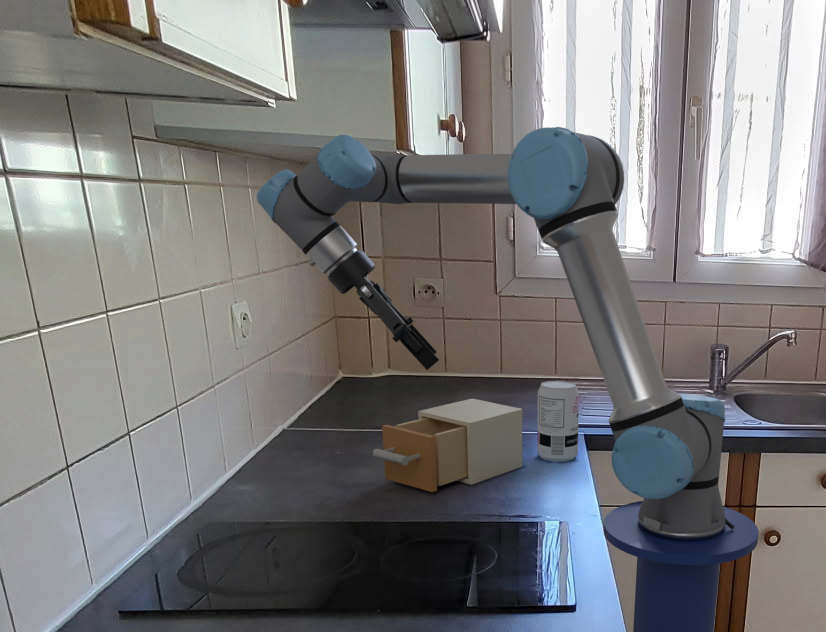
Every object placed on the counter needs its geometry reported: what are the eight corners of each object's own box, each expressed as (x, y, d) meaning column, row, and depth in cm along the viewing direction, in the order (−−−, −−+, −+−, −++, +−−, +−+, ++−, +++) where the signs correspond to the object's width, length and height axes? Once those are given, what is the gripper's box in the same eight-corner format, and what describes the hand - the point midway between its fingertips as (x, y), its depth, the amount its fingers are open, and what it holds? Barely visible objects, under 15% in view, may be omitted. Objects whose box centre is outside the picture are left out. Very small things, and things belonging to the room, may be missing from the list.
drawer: (413, 498, 139) (410, 442, 136) (365, 484, 144) (361, 430, 141) (484, 474, 154) (483, 422, 150) (439, 462, 159) (437, 412, 155)
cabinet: (471, 485, 150) (469, 422, 146) (420, 471, 156) (417, 411, 152) (522, 466, 162) (522, 408, 158) (473, 454, 168) (472, 398, 164)
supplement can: (531, 453, 171) (531, 381, 166) (568, 449, 175) (570, 379, 170) (545, 464, 165) (546, 389, 159) (583, 460, 169) (585, 387, 163)
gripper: (332, 275, 149) (415, 366, 158) (317, 277, 126) (416, 383, 135) (363, 248, 149) (445, 340, 158) (354, 246, 127) (451, 353, 135)
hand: (432, 360), depth 146 cm, fingers open, 13 cm apart
